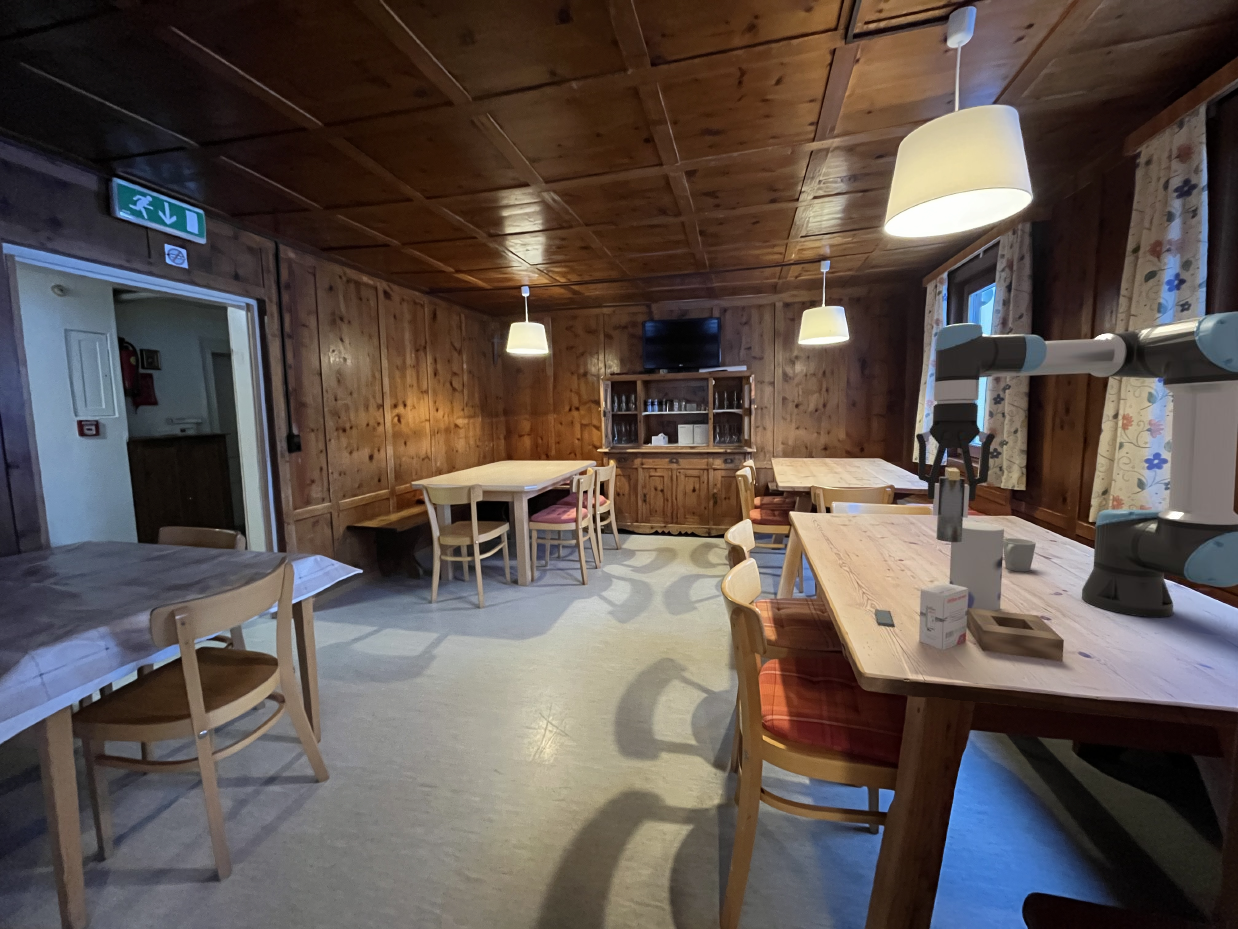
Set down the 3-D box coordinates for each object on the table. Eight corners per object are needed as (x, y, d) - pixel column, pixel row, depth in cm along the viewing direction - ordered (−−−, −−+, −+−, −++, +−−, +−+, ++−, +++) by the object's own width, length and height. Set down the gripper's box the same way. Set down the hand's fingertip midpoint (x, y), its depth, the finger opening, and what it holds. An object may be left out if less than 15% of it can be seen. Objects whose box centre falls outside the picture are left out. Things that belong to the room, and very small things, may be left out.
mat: (913, 616, 113) (914, 613, 113) (920, 630, 106) (920, 627, 106) (874, 611, 116) (875, 609, 116) (878, 624, 109) (878, 622, 109)
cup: (1039, 570, 144) (1041, 542, 143) (1021, 575, 140) (1022, 546, 139) (1009, 564, 151) (1011, 536, 150) (991, 568, 147) (992, 540, 146)
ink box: (942, 636, 103) (944, 580, 102) (967, 645, 99) (970, 587, 98) (917, 645, 99) (919, 588, 98) (942, 655, 95) (945, 595, 94)
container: (1009, 616, 112) (1013, 530, 110) (960, 613, 114) (963, 529, 112) (986, 600, 122) (989, 521, 120) (941, 598, 124) (944, 520, 122)
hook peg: (964, 545, 98) (967, 471, 97) (937, 542, 100) (941, 470, 99) (959, 536, 105) (962, 468, 104) (935, 534, 107) (938, 467, 106)
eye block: (1036, 639, 100) (1037, 615, 100) (1062, 666, 89) (1063, 640, 89) (966, 630, 105) (967, 607, 105) (982, 655, 94) (983, 630, 94)
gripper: (1005, 401, 99) (998, 515, 101) (905, 404, 108) (901, 509, 110) (1013, 400, 93) (1005, 522, 95) (906, 403, 101) (901, 515, 103)
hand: (949, 515), depth 102 cm, fingers closed on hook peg, 4 cm apart
